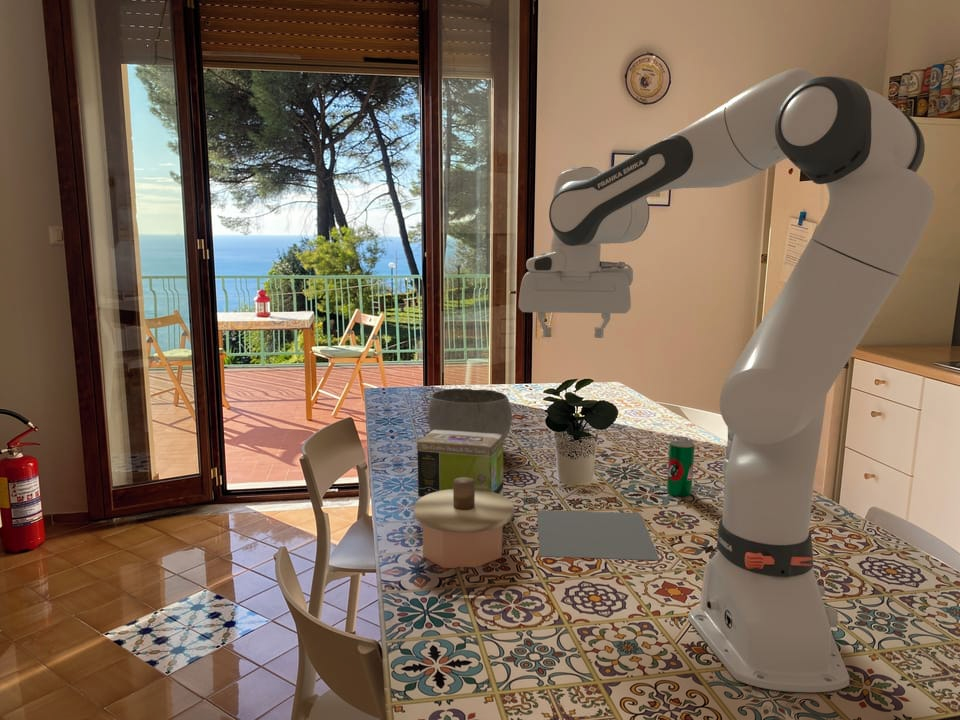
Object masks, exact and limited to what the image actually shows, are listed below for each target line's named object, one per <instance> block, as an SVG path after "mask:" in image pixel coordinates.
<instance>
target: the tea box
mask: <svg viewBox="0 0 960 720" xmlns="http://www.w3.org/2000/svg"><path fill="white" fill-rule="evenodd" d="M416 447H417V450H416V451H417V454H416V455H417V456H416V457H417V500H419V499H420V498H422V497H423V496H425V495H428V494H430V493H433V492H437V491H442V490H448V489H453V481H454V479H456V478H461V477H467V478H472V479H474V480H475V489H480V490H487V491H491V492H495V493H498V494H501V495H503V496H504V441H503V434H497V433H481V432H467V431H452V430H437V429H434V430H432V431H431V430H430V432H428V433H426V435H424V436H423V437H422V438H421V439H419V440H418V441H417V442H416Z"/></svg>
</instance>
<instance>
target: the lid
mask: <svg viewBox="0 0 960 720" xmlns="http://www.w3.org/2000/svg"><path fill="white" fill-rule="evenodd" d="M514 514H515V505H514V503H513V501H512V500H510V498H508V497H506V496H505V495H504V494H503V495H501V494H498V493H495V492H491V491H487V490H480V489H475V480H474V479H472V478H467V477H461V478H456V479H454V481H453V489H448V490H442V491H437V492H433V493H430V494H428V495H425V496H423V497H422V498H420V499H419V500H418V499H417V501H416V502H415V503H414V505H413V515H414V519H416V521H417V522H419V524H421V525H422V526H423V525H425V526H427V527H430V528H433V529H437V530H441V531H447V532H458V533H469V532H481V531H486V530H491V529H494V528H498V527H500V526H502V525H503V526H504V525H506V524H508V523H509V522H510V521H511V520H512V519H513V518H514Z"/></svg>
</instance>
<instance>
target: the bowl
mask: <svg viewBox="0 0 960 720" xmlns="http://www.w3.org/2000/svg"><path fill="white" fill-rule="evenodd" d="M427 419H428V426H429V430H430V432H431V431H432V430H434V429H437V430H452V431H467V432H481V433H497V434H503V442H504V441H505V440H506V438H507V437H508V435H509V433H510V430H511V426H512V421H513V414H512V408H511V403H510V400H509V397H508V396H507V395H506V394H504V393H502V392H500V391H496V390H492V389H491V390H490V389H471V388H447V389H443V390H438V391H435V392H434V393H432V395H431V396H430V400H429V405H428V410H427Z"/></svg>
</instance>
